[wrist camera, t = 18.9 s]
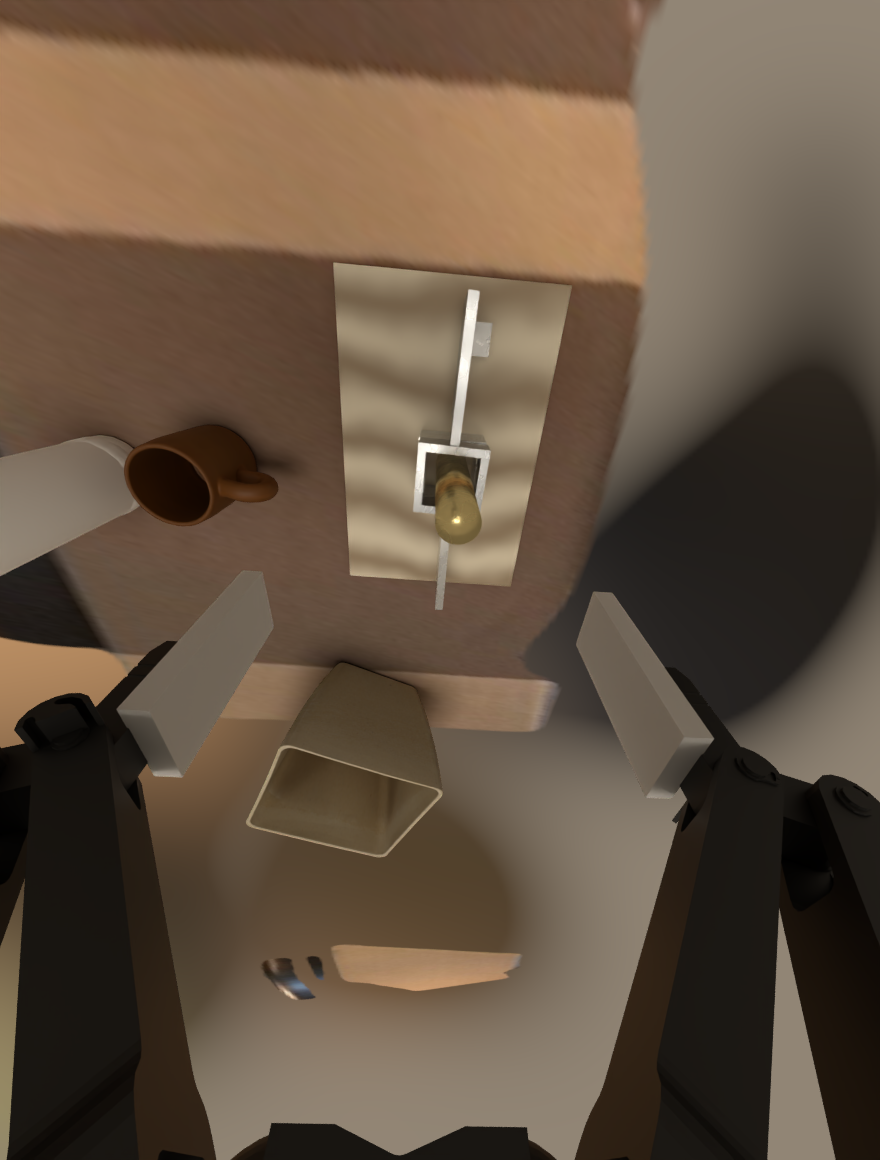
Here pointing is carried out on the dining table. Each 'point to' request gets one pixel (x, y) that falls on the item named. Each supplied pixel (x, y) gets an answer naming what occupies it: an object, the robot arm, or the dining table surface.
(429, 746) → the flower pot
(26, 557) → the bottle
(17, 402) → the dining table surface
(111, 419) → the dining table surface
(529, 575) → the dining table surface
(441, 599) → the hinge base
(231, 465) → the mug
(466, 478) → the pin
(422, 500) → the square frame with bar
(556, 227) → the dining table surface
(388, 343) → the board
